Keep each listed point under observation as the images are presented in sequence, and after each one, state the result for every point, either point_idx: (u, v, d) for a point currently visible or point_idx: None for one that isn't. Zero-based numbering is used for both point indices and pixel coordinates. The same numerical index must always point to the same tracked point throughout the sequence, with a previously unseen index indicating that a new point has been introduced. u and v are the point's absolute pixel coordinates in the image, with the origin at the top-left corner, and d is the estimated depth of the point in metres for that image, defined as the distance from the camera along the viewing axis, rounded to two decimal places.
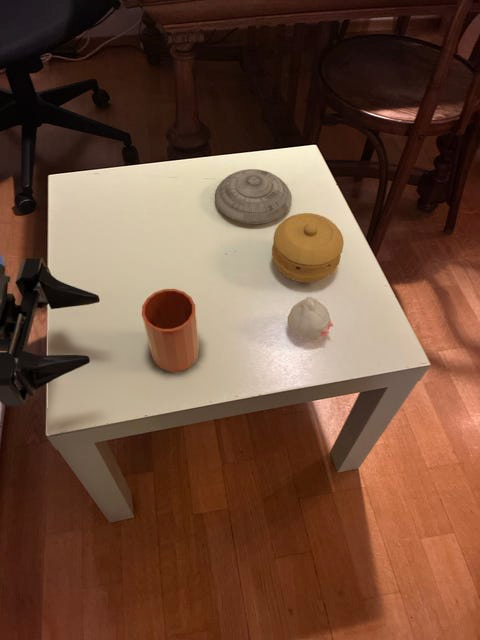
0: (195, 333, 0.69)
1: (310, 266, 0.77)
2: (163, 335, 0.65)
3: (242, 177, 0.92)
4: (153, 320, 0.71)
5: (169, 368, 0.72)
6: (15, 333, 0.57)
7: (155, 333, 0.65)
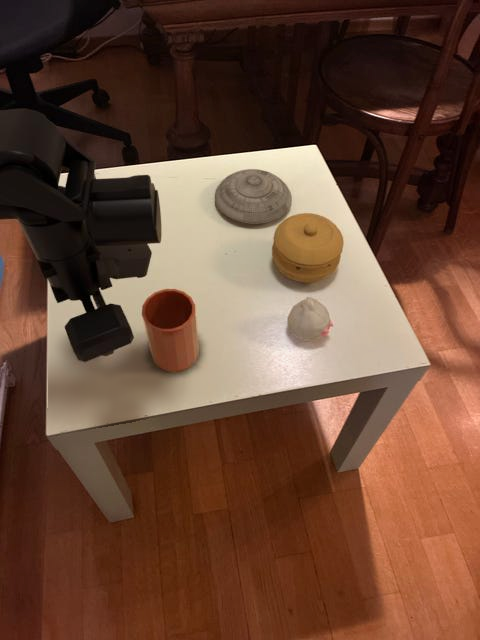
0: (195, 333, 0.69)
1: (310, 266, 0.77)
2: (163, 335, 0.65)
3: (242, 177, 0.92)
4: (153, 320, 0.71)
5: (169, 368, 0.72)
6: None
7: (155, 333, 0.65)
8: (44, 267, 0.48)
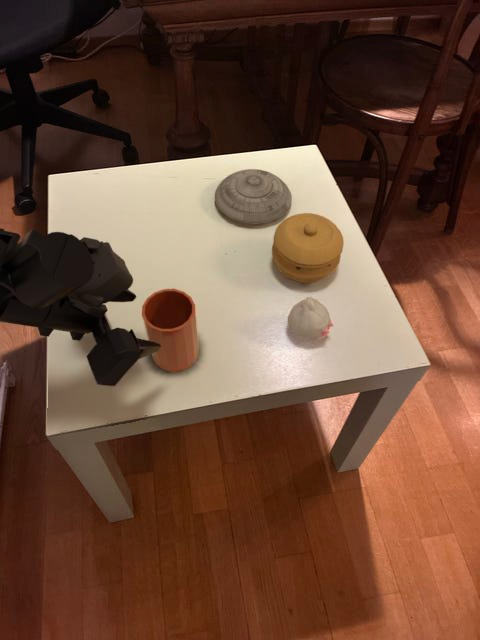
0: (195, 333, 0.69)
1: (310, 266, 0.77)
2: (163, 335, 0.65)
3: (242, 177, 0.92)
4: (153, 320, 0.71)
5: (169, 368, 0.72)
6: (105, 314, 0.57)
7: (155, 333, 0.65)
8: (40, 329, 0.54)
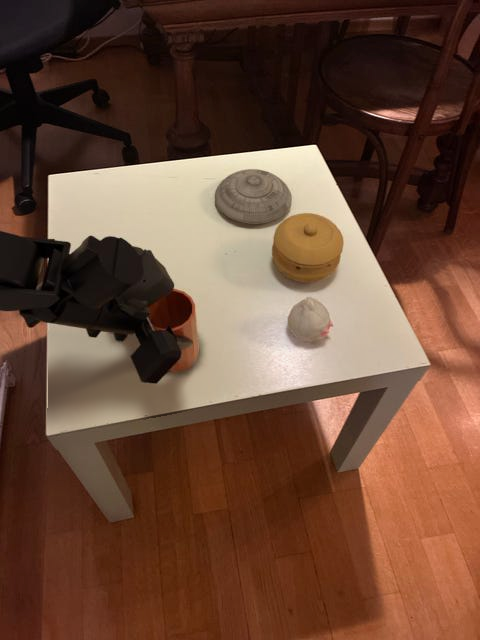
0: (195, 333, 0.69)
1: (310, 266, 0.77)
2: None
3: (242, 177, 0.92)
4: (153, 320, 0.71)
5: None
6: None
7: None
8: (89, 331, 0.59)
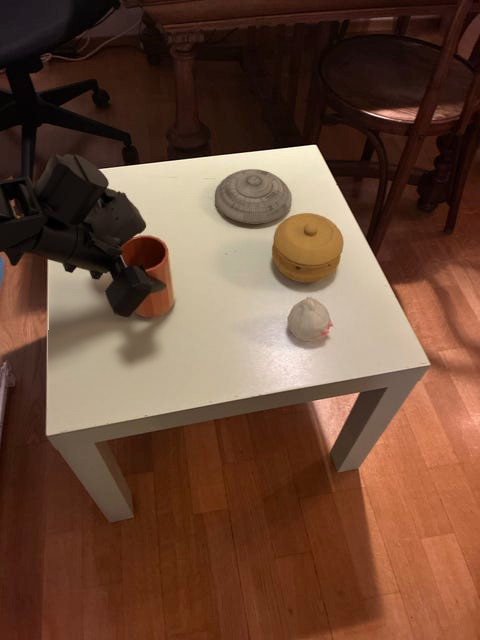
0: (169, 278, 0.73)
1: (310, 266, 0.77)
2: None
3: (242, 177, 0.92)
4: None
5: (145, 313, 0.76)
6: None
7: None
8: (65, 266, 0.63)
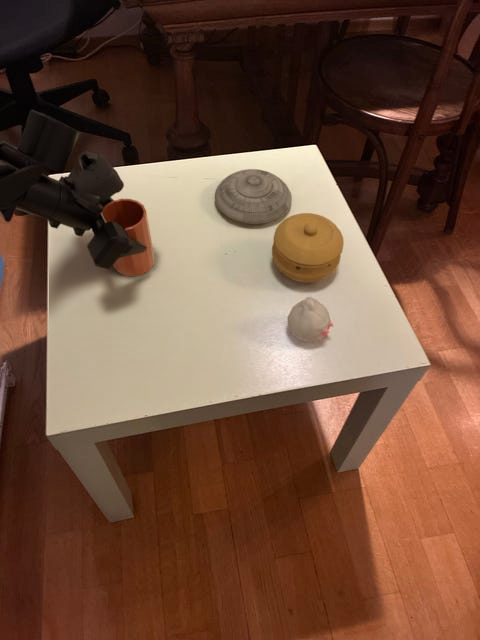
0: (148, 238, 0.80)
1: (310, 266, 0.77)
2: None
3: (242, 177, 0.92)
4: None
5: (127, 272, 0.83)
6: (102, 214, 0.72)
7: None
8: (51, 222, 0.69)
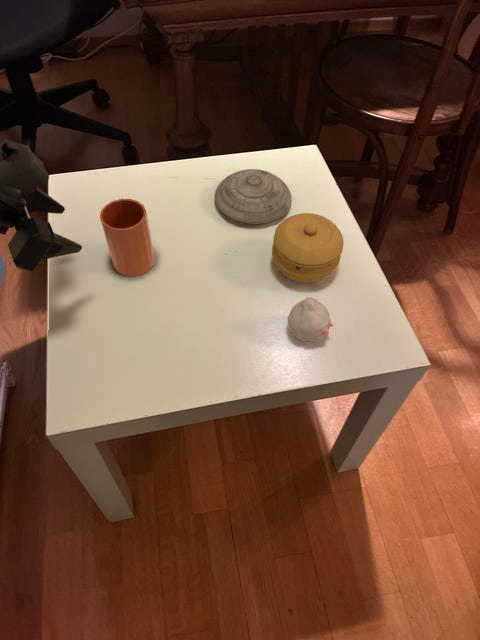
0: (148, 238, 0.80)
1: (310, 266, 0.77)
2: (117, 234, 0.75)
3: (242, 177, 0.92)
4: None
5: (127, 272, 0.83)
6: (26, 210, 0.65)
7: (111, 233, 0.76)
8: None
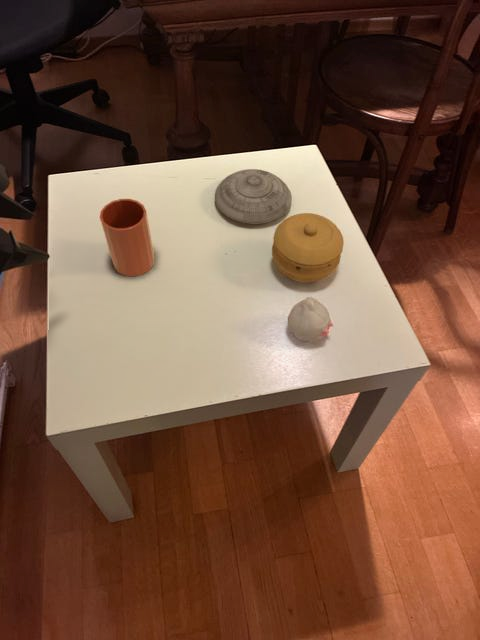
0: (148, 238, 0.80)
1: (310, 266, 0.77)
2: (117, 234, 0.75)
3: (242, 177, 0.92)
4: None
5: (127, 272, 0.83)
6: None
7: (111, 233, 0.76)
8: None
